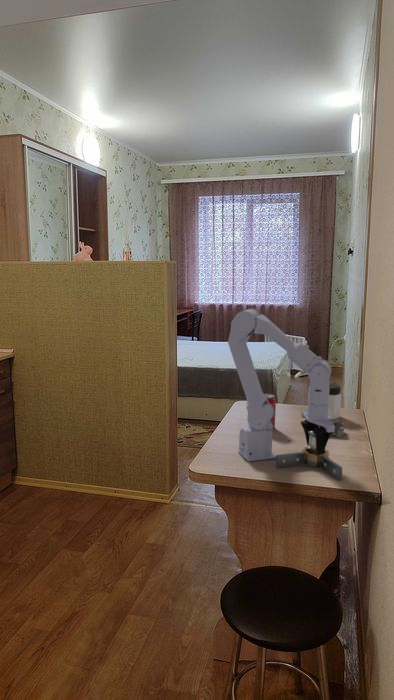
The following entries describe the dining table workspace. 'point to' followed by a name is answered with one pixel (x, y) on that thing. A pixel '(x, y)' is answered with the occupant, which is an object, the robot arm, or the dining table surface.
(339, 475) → the hinge
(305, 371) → the robot arm
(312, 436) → the pin
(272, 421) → the soda can
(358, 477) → the dining table surface
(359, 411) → the dining table surface
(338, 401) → the jar
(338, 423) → the egg carton
